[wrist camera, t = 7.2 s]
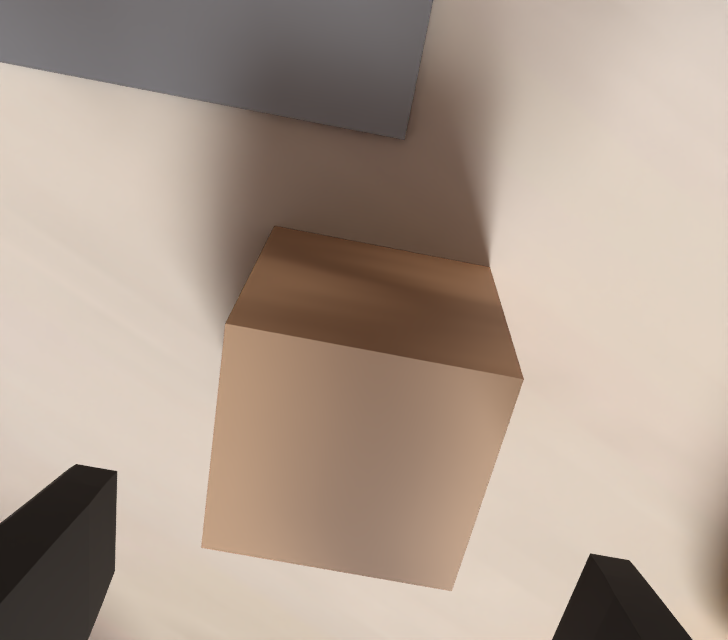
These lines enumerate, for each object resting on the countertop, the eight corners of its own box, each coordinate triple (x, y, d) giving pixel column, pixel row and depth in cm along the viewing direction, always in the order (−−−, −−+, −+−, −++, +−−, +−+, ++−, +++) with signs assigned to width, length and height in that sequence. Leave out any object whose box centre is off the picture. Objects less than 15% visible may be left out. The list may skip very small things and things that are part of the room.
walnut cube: (250, 405, 18) (201, 547, 14) (275, 224, 16) (224, 323, 11) (439, 439, 18) (451, 591, 14) (489, 266, 16) (523, 379, 12)
